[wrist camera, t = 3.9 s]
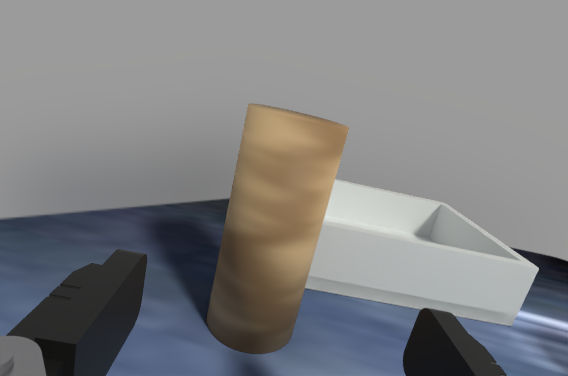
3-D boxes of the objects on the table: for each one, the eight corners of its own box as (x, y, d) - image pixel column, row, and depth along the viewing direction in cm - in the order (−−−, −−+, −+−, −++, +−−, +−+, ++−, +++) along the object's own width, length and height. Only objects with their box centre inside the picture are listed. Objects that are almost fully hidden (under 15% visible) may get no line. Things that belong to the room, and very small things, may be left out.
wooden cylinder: (198, 344, 18) (244, 107, 15) (213, 289, 23) (251, 101, 20) (295, 360, 19) (359, 133, 15) (290, 303, 23) (338, 121, 20)
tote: (284, 284, 25) (301, 219, 24) (280, 212, 39) (290, 169, 38) (511, 326, 27) (539, 268, 26) (429, 243, 41) (444, 202, 40)
